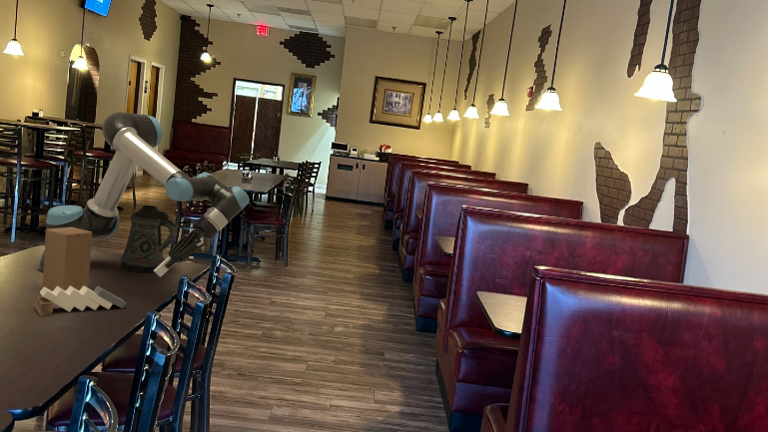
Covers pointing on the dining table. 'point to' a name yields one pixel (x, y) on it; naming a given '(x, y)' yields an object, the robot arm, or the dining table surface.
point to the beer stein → (146, 240)
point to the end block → (43, 306)
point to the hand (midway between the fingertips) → (157, 273)
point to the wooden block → (67, 258)
